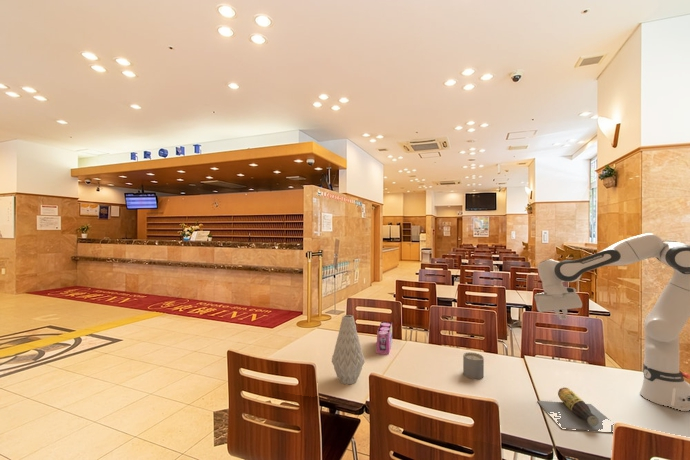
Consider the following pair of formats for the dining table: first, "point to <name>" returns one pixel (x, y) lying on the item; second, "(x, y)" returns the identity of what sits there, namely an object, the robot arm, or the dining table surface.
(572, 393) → the sauce bottle
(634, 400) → the dining table surface
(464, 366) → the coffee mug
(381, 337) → the pink multipack
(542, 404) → the placemat
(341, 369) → the vase
